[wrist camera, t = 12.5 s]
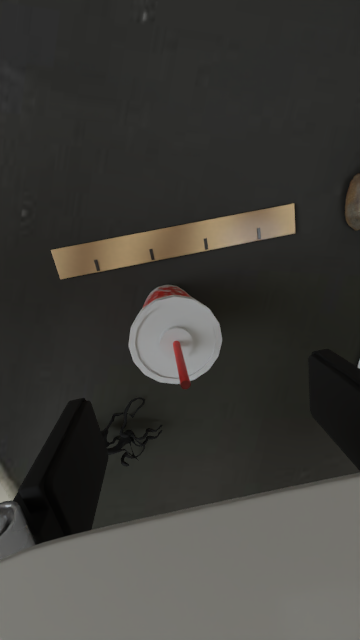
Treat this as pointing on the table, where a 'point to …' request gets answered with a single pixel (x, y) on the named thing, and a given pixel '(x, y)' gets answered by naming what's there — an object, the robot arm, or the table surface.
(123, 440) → the creature
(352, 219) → the worn brown figurine
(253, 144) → the table surface
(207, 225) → the ruler
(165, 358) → the beverage cup
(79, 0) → the table surface
